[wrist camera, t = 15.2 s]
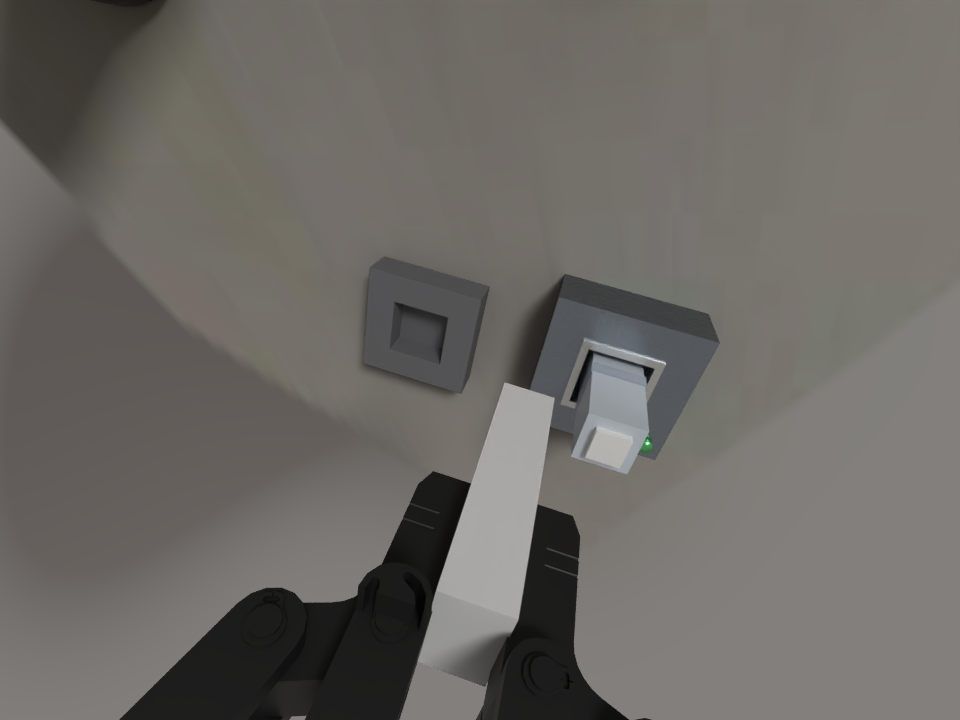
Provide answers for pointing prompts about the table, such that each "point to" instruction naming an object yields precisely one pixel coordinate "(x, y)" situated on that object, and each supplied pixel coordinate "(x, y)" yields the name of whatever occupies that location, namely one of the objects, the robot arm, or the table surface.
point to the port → (624, 351)
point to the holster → (422, 323)
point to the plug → (610, 412)
